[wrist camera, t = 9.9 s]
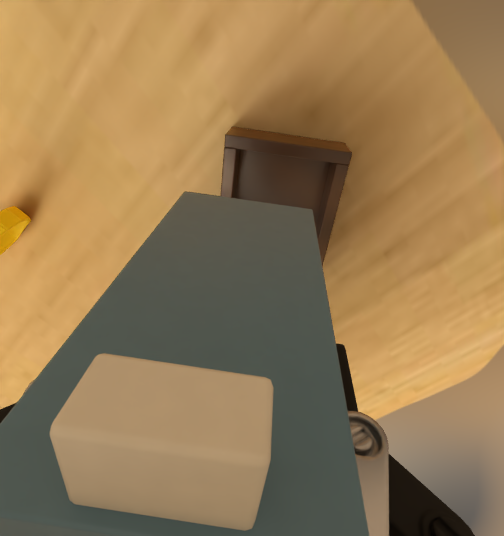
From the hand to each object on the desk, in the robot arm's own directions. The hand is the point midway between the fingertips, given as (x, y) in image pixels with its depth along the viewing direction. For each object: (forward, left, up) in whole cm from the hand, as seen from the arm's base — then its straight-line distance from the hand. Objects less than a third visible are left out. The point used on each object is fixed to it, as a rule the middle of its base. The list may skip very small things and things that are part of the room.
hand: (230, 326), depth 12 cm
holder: (-2, -1, -17) cm, 17 cm away
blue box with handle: (0, 0, -2) cm, 2 cm away
